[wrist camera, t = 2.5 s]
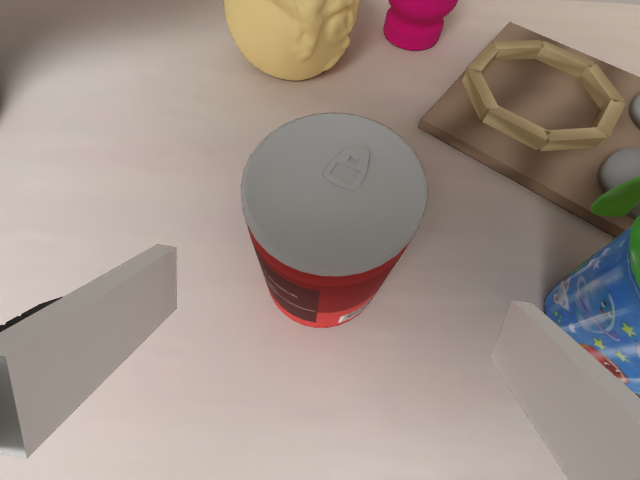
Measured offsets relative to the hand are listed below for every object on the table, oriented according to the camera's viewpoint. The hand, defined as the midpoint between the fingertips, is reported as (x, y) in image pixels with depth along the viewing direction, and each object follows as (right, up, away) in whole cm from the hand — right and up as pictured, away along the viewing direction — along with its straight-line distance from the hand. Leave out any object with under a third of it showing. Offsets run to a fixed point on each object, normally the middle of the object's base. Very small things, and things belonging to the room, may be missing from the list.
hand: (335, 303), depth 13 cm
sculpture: (-3, +21, +21) cm, 30 cm away
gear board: (+23, +14, +18) cm, 33 cm away
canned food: (0, 0, +10) cm, 10 cm away
